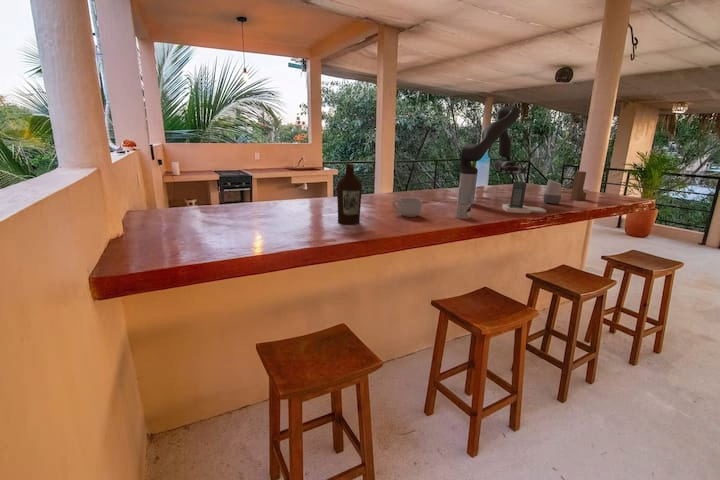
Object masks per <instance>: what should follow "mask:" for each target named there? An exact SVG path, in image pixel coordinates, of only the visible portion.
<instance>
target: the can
mask: <svg viewBox="0 0 720 480" xmlns="http://www.w3.org/2000/svg"><path fill="white" fill-rule="evenodd" d="M526 189H527V182H524V181H513V185H512V190H511V198H510V203H509V205H510V208H521V209H523V205H524V202H525V195H526V191H527V190H526Z"/></svg>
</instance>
